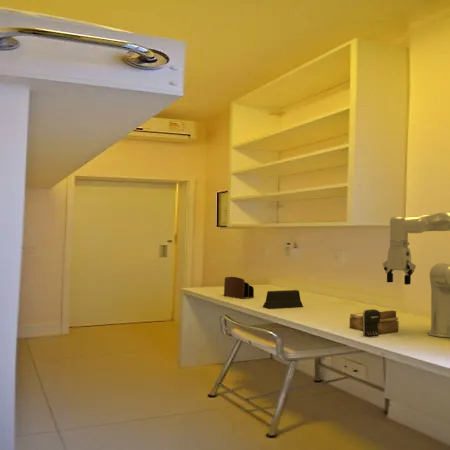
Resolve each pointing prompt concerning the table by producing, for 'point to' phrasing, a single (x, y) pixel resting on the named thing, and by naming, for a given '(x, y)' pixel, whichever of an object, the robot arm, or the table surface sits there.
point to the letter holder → (238, 288)
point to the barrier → (283, 299)
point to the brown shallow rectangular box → (382, 326)
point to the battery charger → (371, 322)
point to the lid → (384, 316)
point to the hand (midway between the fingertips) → (398, 283)
